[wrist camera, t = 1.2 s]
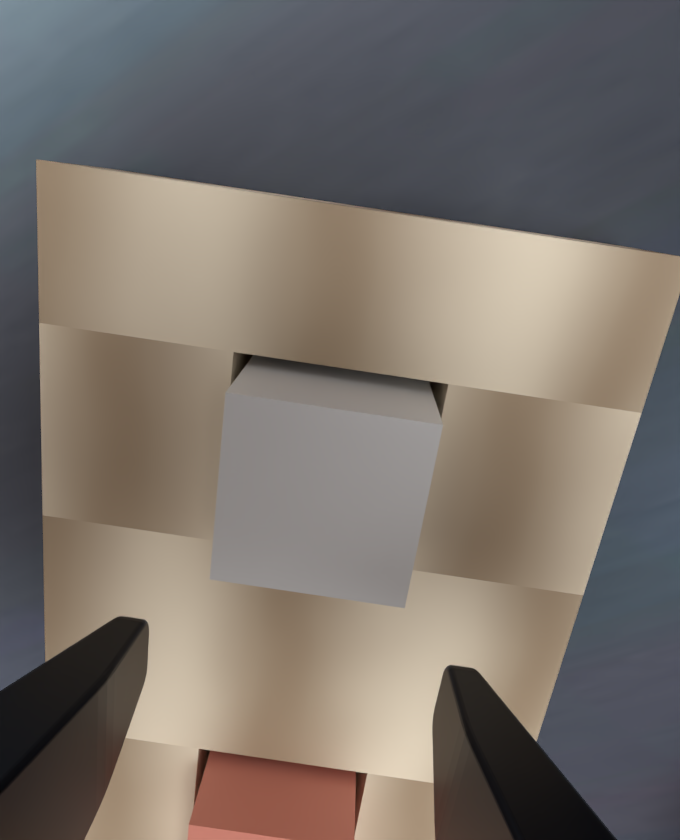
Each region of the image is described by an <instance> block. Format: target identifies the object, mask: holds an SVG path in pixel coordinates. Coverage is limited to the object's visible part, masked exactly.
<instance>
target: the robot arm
mask: <svg viewBox="0 0 680 840" xmlns="http://www.w3.org/2000/svg"><path fill="white" fill-rule="evenodd" d="M148 644H149V625H148V622H147V621H146V620H144V619H139V618H133V617H126V616H119V617H116V618H114V619H112V620H111V621H109V622H108V623H106V624H104V625H103V626H101V627H100V628H98V629H97V630H95V631H93V632H92V633H90V634H89V635H87V636H86V637H84V638H83V639H81V640H79V641H78V642H76V643H75V644H73V645H72V646H70V647H68V648H67V649H65V650H64V651H62V652H61V653H59V654H57V655H56V656H54V657H53V658H51V659H50V660H48V661H46V662H45V663H43V664H42V665H40V666H39V667H37V668H35V669H34V670H32V671H31V672H29V673H28V674H26V675H24V676H23V677H21V678H20V679H18V680H17V681H15V682H14V683H12V684H10V685H9V686H7V687H6V688H4V689H3V690H1V691H0V840H85V837H86V835H87V833H88V831H89V829H90V827H91V825H92V823H93V821H94V818H95V816H96V814H97V812H98V810H99V807H100V805H101V803H102V801H103V798H104V796H105V793H106V791H107V788H108V785H109V783H110V780H111V777H112V775H113V772H114V769H115V766H116V763H117V760H118V757H119V755H120V752H121V749H122V746H123V743H124V740H125V737H126V735H127V732H128V729H129V726H130V723H131V720H132V717H133V715H134V712H135V709H136V706H137V703H138V700H139V697H140V695H141V692H142V689H143V686H144V682H145V678H146V674H147V664H148ZM432 738H433V781H434V824H435V840H617V839H616V838H615V837H614V836H613V834H612V833H611V832H610V831H609V830H608V828H607V827H606V826H605V825H604V823H603V822H602V821H601V820H600V819H599V817H598V816H597V815H596V814H595V812H594V811H593V810H592V809H591V808H590V806H589V805H588V804H587V803H586V802H585V800H584V799H583V798H582V797H581V795H580V794H579V793H578V792H577V791H576V789H575V788H574V787H573V786H572V785H571V783H570V782H569V781H568V780H567V778H566V777H565V776H564V775H563V774H562V772H561V771H560V770H559V769H558V767H557V766H556V765H555V764H554V763H553V761H552V760H551V759H550V758H549V757H548V755H547V754H546V753H545V752H544V750H543V749H542V748H541V747H540V746H539V744H538V743H537V742H536V741H535V740H534V738H533V737H532V736H531V735H530V733H529V732H528V731H527V730H526V729H525V727H524V726H523V725H522V724H521V722H520V721H519V720H518V719H517V718H516V716H515V715H514V714H513V713H512V712H511V710H510V709H509V708H508V707H507V705H506V704H505V703H504V702H503V701H502V699H501V698H500V697H499V696H498V695H497V693H496V692H495V691H494V690H493V688H492V687H491V686H490V685H489V684H488V682H487V681H486V680H485V679H484V677H483V676H482V675H481V674H480V673H479V672H478V671H477V670H476V669H474V668H470V667H463V666H456V665H449V666H447V667H446V668H445V670H444V672H443V676H442V680H441V684H440V688H439V692H438V696H437V700H436V704H435V708H434V714H433V723H432Z"/></svg>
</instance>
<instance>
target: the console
mask: <svg viewBox="0 0 680 840" xmlns="http://www.w3.org/2000/svg"><path fill="white" fill-rule="evenodd" d="M36 177H37V232H38V287H39V342H40V398H41V453H42V508H43V563H44V618H45V662H46V661H48V660H50V659H51V658H53V657H54V656H56V655H57V654H59V653H61V652H62V651H64V650H65V649H67V648H68V647H70V646H72V645H73V644H75V643H76V642H78V641H79V640H81V639H83V638H84V637H86V636H87V635H89V634H90V633H92V632H93V631H95V630H97V629H98V628H100V627H101V626H103V625H104V624H106V623H108V622H109V621H111V620H112V619H114V618H116V617H119V616H126V617H133V618H139V619H144V620H146V621H147V622H148V625H149V644H148V664H147V674H146V678H145V682H144V686H143V689H142V692H141V695H140V697H139V700H138V703H137V706H136V709H135V712H134V715H133V717H132V720H131V723H130V726H129V729H128V732H127V735H126V737H125V740H124V743H123V746H122V749H121V752H120V755H119V757H118V760H117V763H116V766H115V769H114V772H113V775H112V777H111V780H110V783H109V785H108V788H107V791H106V793H105V796H104V798H103V801H102V803H101V805H100V807H99V810H98V812H97V814H96V816H95V818H94V821H93V823H92V825H91V827H90V829H89V831H88V833H87V835H86V837H85V840H188V828H189V822H190V819H191V815H192V812H193V808H194V805H195V801H196V798H197V795H198V791H199V788H200V784H201V781H202V777H203V774H204V770H205V767H206V764H207V760H208V757H209V753H210V750H211V751H218V752H225V753H232V754H238V755H245V756H252V757H259V758H266V759H272V760H279V761H286V762H293V763H300V764H307V765H313V766H320V767H327V768H334V769H341V770H348V771H354V772H356V794H355V836H354V840H435V824H434V781H433V738H432V723H433V714H434V708H435V704H436V700H437V696H438V692H439V688H440V684H441V680H442V676H443V672H444V670H445V668H446V667H447V666H449V665H456V666H463V667H470V668H474V669H476V670H477V671H478V672H479V673H480V674H481V675H482V676H483V677H484V679H485V680H486V681H487V682H488V684H489V685H490V686H491V687H492V688H493V690H494V691H495V692H496V693H497V695H498V696H499V697H500V698H501V699H502V701H503V702H504V703H505V704H506V705H507V707H508V708H509V709H510V710H511V712H512V713H513V714H514V715H515V716H516V718H517V719H518V720H519V721H520V722H521V724H522V725H523V726H524V727H525V729H526V730H527V731H528V732H529V733H530V735H531V736H532V737H533V738H534V740H535V741H537V738H538V735H539V732H540V728H541V725H542V722H543V719H544V716H545V713H546V710H547V707H548V703H549V700H550V697H551V694H552V691H553V688H554V685H555V682H556V679H557V675H558V672H559V669H560V666H561V663H562V660H563V657H564V654H565V650H566V647H567V644H568V641H569V638H570V635H571V632H572V629H573V625H574V622H575V619H576V616H577V613H578V610H579V607H580V604H581V600H582V597H583V594H584V591H585V588H586V585H587V582H588V579H589V575H590V572H591V569H592V566H593V563H594V560H595V557H596V554H597V550H598V547H599V544H600V541H601V538H602V535H603V532H604V529H605V525H606V522H607V519H608V516H609V513H610V510H611V507H612V504H613V500H614V497H615V494H616V491H617V488H618V485H619V482H620V479H621V476H622V472H623V469H624V466H625V463H626V460H627V457H628V454H629V451H630V447H631V444H632V441H633V438H634V435H635V432H636V429H637V426H638V422H639V419H640V416H641V413H642V410H643V407H644V404H645V401H646V397H647V394H648V391H649V388H650V385H651V382H652V379H653V376H654V372H655V369H656V366H657V363H658V360H659V357H660V354H661V351H662V347H663V344H664V341H665V338H666V335H667V332H668V329H669V326H670V322H671V319H672V316H673V313H674V310H675V307H676V304H677V301H678V297H679V294H680V256H675V255H670V254H664V253H659V252H653V251H647V250H642V249H636V248H631V247H625V246H619V245H613V244H606V243H599V242H593V241H586V240H580V239H573V238H566V237H560V236H553V235H546V234H540V233H533V232H527V231H520V230H513V229H507V228H500V227H493V226H487V225H480V224H474V223H467V222H460V221H454V220H447V219H440V218H434V217H427V216H421V215H414V214H407V213H401V212H394V211H387V210H381V209H374V208H368V207H361V206H354V205H348V204H341V203H334V202H328V201H321V200H315V199H308V198H301V197H295V196H288V195H281V194H275V193H268V192H262V191H255V190H248V189H242V188H235V187H228V186H222V185H215V184H209V183H202V182H195V181H189V180H182V179H175V178H169V177H162V176H156V175H149V174H142V173H136V172H129V171H122V170H116V169H109V168H101V167H93V166H85V165H77V164H69V163H61V162H53V161H44V160H36ZM253 355H258V356H264V357H271V358H278V359H284V360H291V361H298V362H304V363H311V364H318V365H324V366H331V367H338V368H344V369H351V370H358V371H364V372H371V373H378V374H385V375H391V376H398V377H405V378H411V379H418V380H425V381H429V383H430V386H431V389H432V393H433V396H434V399H435V402H436V405H437V408H438V411H439V414H440V417H441V420H442V423H443V428H442V433H441V438H440V442H439V447H438V452H437V457H436V461H435V466H434V471H433V476H432V480H431V485H430V490H429V495H428V499H427V504H426V509H425V514H424V519H423V523H422V528H421V533H420V538H419V542H418V547H417V552H416V557H415V561H414V566H413V571H412V576H411V580H410V585H409V590H408V595H407V600H406V604H405V608H400V607H393V606H386V605H379V604H373V603H366V602H359V601H352V600H346V599H339V598H332V597H325V596H318V595H312V594H305V593H298V592H291V591H285V590H278V589H271V588H264V587H258V586H251V585H244V584H237V583H231V582H224V581H217V580H210V569H211V557H212V545H213V534H214V522H215V510H216V498H217V486H218V475H219V463H220V451H221V439H222V428H223V416H224V404H225V392H226V391H227V390H228V388H229V387H230V386H231V384H232V383H233V382H234V380H235V379H236V378H237V376H238V375H239V374H240V373H241V371H242V370H243V369H244V367H245V366H246V365H247V363H248V362H249V361H250V359H251V358H252V357H253Z"/></svg>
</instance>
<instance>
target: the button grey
mask: <svg viewBox="0 0 680 840" xmlns="http://www.w3.org/2000/svg"><path fill="white" fill-rule="evenodd" d="M442 428H443V423H442V420H441V417H440V414H439V411H438V408H437V405H436V402H435V399H434V396H433V393H432V389H431V386H430V383H429V381H425V380H418V379H411V378H405V377H398V376H391V375H385V374H378V373H371V372H364V371H358V370H351V369H344V368H338V367H331V366H324V365H318V364H311V363H304V362H298V361H291V360H284V359H278V358H271V357H264V356H258V355H253V357H252V358H251V359H250V361H249V362H248V363H247V365H246V366H245V367H244V369H243V370H242V371H241V373H240V374H239V375H238V376H237V378H236V379H235V380H234V382H233V383H232V384H231V386H230V387H229V388H228V390H227V391H226V392H225V404H224V416H223V428H222V439H221V451H220V463H219V475H218V486H217V498H216V510H215V522H214V534H213V545H212V557H211V569H210V580H217V581H224V582H231V583H237V584H244V585H251V586H258V587H264V588H271V589H278V590H285V591H291V592H298V593H305V594H312V595H318V596H325V597H332V598H339V599H346V600H352V601H359V602H366V603H373V604H379V605H386V606H393V607H400V608H405V604H406V600H407V595H408V590H409V585H410V580H411V576H412V571H413V566H414V561H415V557H416V552H417V547H418V542H419V538H420V533H421V528H422V523H423V519H424V514H425V509H426V504H427V499H428V495H429V490H430V485H431V480H432V476H433V471H434V466H435V461H436V457H437V452H438V447H439V442H440V438H441V433H442Z"/></svg>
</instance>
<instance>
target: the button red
mask: <svg viewBox="0 0 680 840" xmlns="http://www.w3.org/2000/svg"><path fill="white" fill-rule="evenodd" d="M355 794H356V772H354V771H348V770H341V769H334V768H327V767H320V766H313V765H307V764H300V763H293V762H286V761H279V760H272V759H266V758H259V757H252V756H245V755H238V754H232V753H225V752H218V751H211V750H210V753H209V757H208V760H207V764H206V767H205V770H204V774H203V777H202V781H201V784H200V788H199V791H198V795H197V798H196V801H195V805H194V808H193V812H192V815H191V819H190V822H189V828H188V840H354V836H355Z"/></svg>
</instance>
